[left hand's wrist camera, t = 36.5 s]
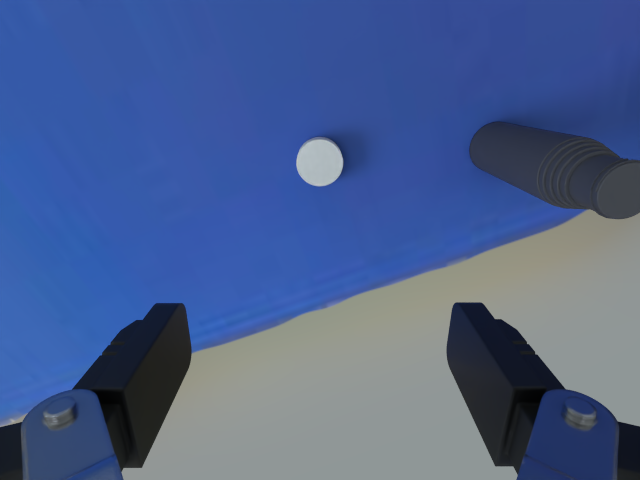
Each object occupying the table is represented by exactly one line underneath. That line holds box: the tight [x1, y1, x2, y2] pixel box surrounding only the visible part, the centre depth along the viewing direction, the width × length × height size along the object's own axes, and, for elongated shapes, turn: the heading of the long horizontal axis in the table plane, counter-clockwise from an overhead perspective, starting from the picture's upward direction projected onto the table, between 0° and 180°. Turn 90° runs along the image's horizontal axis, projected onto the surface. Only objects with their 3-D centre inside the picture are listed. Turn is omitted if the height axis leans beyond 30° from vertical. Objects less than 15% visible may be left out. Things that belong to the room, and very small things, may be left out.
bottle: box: [470, 122, 640, 219], centre depth 30 cm, size 5×5×18 cm
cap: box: [297, 137, 343, 186], centre depth 38 cm, size 4×4×2 cm
